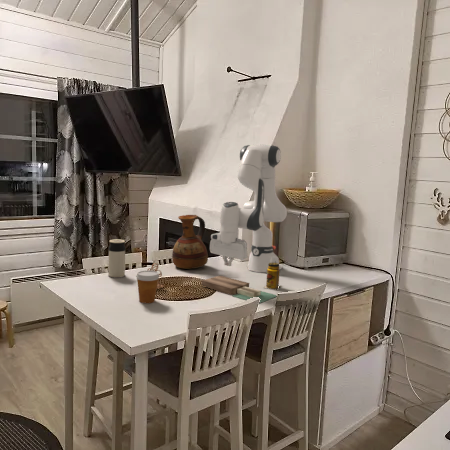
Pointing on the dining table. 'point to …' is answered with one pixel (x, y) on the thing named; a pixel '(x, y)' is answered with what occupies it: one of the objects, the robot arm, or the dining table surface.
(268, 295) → the mat
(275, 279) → the condiment
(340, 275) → the dining table surface
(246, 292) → the tile
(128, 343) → the dining table surface
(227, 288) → the board
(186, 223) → the ceramic pitcher
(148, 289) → the disposable coffee cup
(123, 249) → the travel mug
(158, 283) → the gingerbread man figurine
